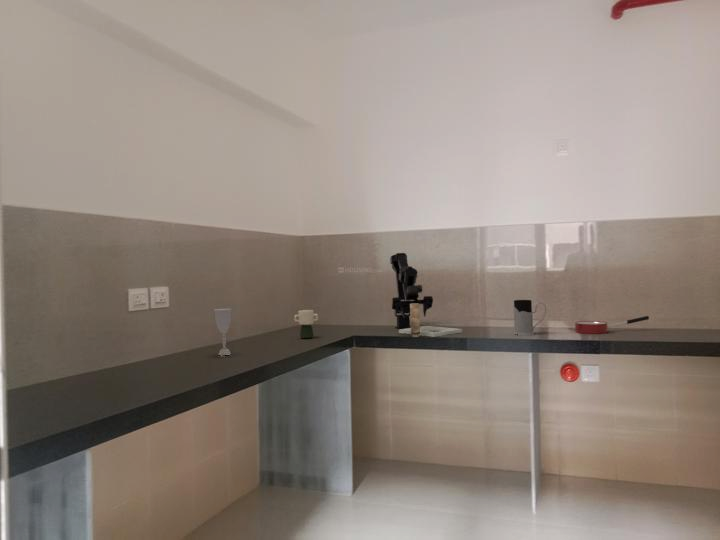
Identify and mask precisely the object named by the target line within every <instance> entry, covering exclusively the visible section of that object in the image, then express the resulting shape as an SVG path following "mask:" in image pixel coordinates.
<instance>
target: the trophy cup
mask: <svg viewBox="0 0 720 540" xmlns="http://www.w3.org/2000/svg"><path fill="white" fill-rule="evenodd" d="M314 311H315V310H313V309H303V310H302V309H300V310H298V313H297V314H294V317H293V318H294V322H295V323H298V324H299V325H300V332H299V337H300V338H302V339H311V338H313V337H314V330H313V326H312V325H314V322H317V321H319V315H318V313H314ZM297 317H298V319H297ZM310 337H311V338H310Z"/></svg>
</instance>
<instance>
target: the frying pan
mask: <svg viewBox="0 0 720 540" xmlns="http://www.w3.org/2000/svg"><path fill="white" fill-rule="evenodd" d="M649 319H650V316H649V315H646V316H641V317H636V318H632V319H628V320H625V321H620V322H617V323H612V324H608V322H607V321H600V320H598V321H597V320H580V321H576V322H574V328H575V329H574V330H575V332H576V333H577V334H581V333H582V334H583V335H604V334H607V333H608V329H609V328H613V327H617V326H623V325H628V324H629V325H630V324H633V323H639V322H642V321H643V322H644V321H647V320H649Z"/></svg>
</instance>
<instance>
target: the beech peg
mask: <svg viewBox="0 0 720 540" xmlns="http://www.w3.org/2000/svg"><path fill="white" fill-rule="evenodd" d="M409 319H410V326H411V334H410V335H411V337H412V338H419V337H420V335H419V334H420V327H421V325H420V305H419V303H411V304H410V316H409Z"/></svg>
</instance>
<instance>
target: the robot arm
mask: <svg viewBox="0 0 720 540" xmlns="http://www.w3.org/2000/svg"><path fill="white" fill-rule="evenodd" d="M389 264H390V265H391V269H392V270H393V271H394V272H395V280H396V290H397V291H396V292H397V297H396V296H395V297H392V299H391V309H392V310H393V316H394V317H395V318H396V326H394V329H407V328H411V318H410V304H411V303H419V306H420V305H422V307H423V308H422V313H423V316H424V317H425V318H426V315H427V310H429V309H430V308H432V306H433V302H434V297H433V296H432V295H424V296H423V298H422V299H418V298H419V296H420V295H419V294H420V293H423V286H422V284H417V285H416V283H417V279H418V270H417V269H416V268H414V267H413V266H411V265H410V266H409V263H408V255H407V253H406V252H397V253H395V254H393V255H391V256H390V259H389Z"/></svg>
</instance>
